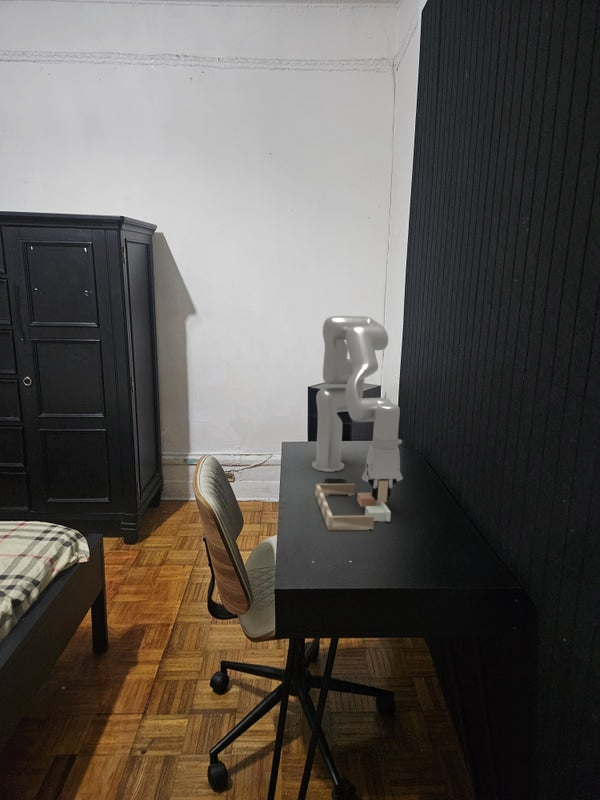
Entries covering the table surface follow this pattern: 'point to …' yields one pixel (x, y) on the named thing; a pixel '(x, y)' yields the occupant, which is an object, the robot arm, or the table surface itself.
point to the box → (341, 521)
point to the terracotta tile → (366, 499)
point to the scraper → (383, 496)
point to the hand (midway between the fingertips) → (380, 498)
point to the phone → (335, 481)
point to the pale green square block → (375, 512)
